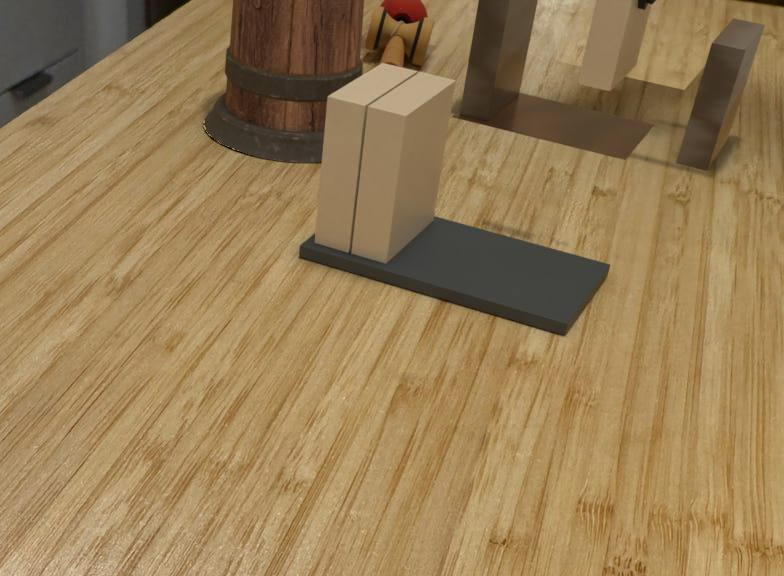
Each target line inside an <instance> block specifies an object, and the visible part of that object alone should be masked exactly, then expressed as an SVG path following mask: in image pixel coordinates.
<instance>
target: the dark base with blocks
mask: <svg viewBox="0 0 784 576" xmlns="http://www.w3.org/2000/svg"><path fill="white" fill-rule="evenodd" d="M456 82H457V81H456V79H452V78H448V77H445V76H444V77H443V76H439V75H436V74H431V73H426V72H422V71H419V72H418V71H417V70H414V69H410V68H405V67H403V68H402V67H398V66H393V65H389V64H385V63H382V64H380V65H379V64H378V65H377V66H375V67H373V68H372V69H370V70H369V71H367V72H365V73H364V74H363V73H362V76H360V77H359V78H357V79H355V80H354V81H352V82H350V83H349V84H347V85H345V86H344V87H342V88H340V89H339V90H337V91H335V92H334V93H332V94H331V95H329V96H328V97H327V109H326V120H325V131H324V142H323V153H322V162H321V164H320V165H321V166H320V177H319V186H318V188H319V189H318V200H317V212H316V221H315V232H314V233H313V234H312V235H311V236H310V237H308V238H307V239H306V240H305V241H303V242H302V243H301V244H299V250H298V251H299V252H298V257H299V258H301V259H303V260H309V261H312V262H314V263H318V264H322V265H325V266H328V267H332V268H335V269H338V270H342V271H345V272H348V273H352V274H356V275H358V276H362V277H365V278H369V279H371V280H375V281H379V282H382V283H386V284H389V285H392V286H396V287H400V288H403V289H406V290H409V291H413V292H416V293H419V294H423V295H426V296H430V297H433V298H436V299H440V300H444V301H447V302H450V303H453V304H457V305H460V306H464V307H466V308H471V309H473V310H477V311H481V312H484V313H487V314H491V315H494V316H497V317H500V318H503V319H507V320H511V321H513V322H517V323H520V324H525V325H528V326H531V327H535V328H538V329H541V330H544V331H547V332H551V333H554V334H558V335H561V336H566V335H567V333H568V332H569V330H570V329H571V328H572V326H573V325H574V324H575V322H576V321H577V319H578V318H579V316H580V315H581V313H582V312H583V311H584V309H585V308H586V306H587V305H588V304H589V302H590V301H591V300H592V298H593V297H594V295H595V294H596V293H597V291H598V290H599V288H600V287H601V286H602V284H603V283H604V282H605V280H606V278H608V276H609V272H610V268H611V264H610V263H606V262H603V261H599V260H595V259H592V258H588V257H585V256H582V255H577V254H574V253H570V252H566V251H563V250H559V249H556V248H551V247H548V246H545V245H540V244H537V243H533V242H530V241H526V240H523V239H519V238H515V237H512V236H508V235H504V234H500V233H497V232H494V231H490V230H487V229H482V228H479V227H475V226H472V225H468V224H464V223H462V222H461V223H460V222H458V221H454V220H451V219H447V218H443V217H439V216H436V215H435V213H436V206H437V200H438V194H439V188H440V181H441V175H442V171H443V170H442V168H443V163H444V157H445V151H446V144H447V137H448V132H449V125H450V120H451V114H452V108H453V107H452V106H453V101H454V95H455V89H456Z"/></svg>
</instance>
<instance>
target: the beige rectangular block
mask: <svg viewBox="0 0 784 576" xmlns="http://www.w3.org/2000/svg"><path fill="white" fill-rule="evenodd" d="M652 5H653V4H648V5H647V7H646V9H645V10H643V9H638V0H595V4H594V9H593V14H592V18H591V23H590V27H589V31H588V35H587V39H586V45H585V49H584V53H583V58H582V62H581V67H580V71H579V75H578V78H577V79H578V80H577V85H581V86H585V87H589V88H593V89H598V90H602V91H606V92H611V91H612V90H613V89H615V87H616V86H617V85H618V84H619V83H620V82H621V81H622V80H623V79H624V78H626V76H627V75H628V74H629V73H630V72H631V71H632V70H634V68H635V67H636V66H637V64H638V59H639V56H640V53H641V52H640V51H641V47H642V45H643V41H644V36H645V33H646V32H645V31H646V28H647V26H648V25H647V24H648V20H649V16H650V13H651V9H652Z"/></svg>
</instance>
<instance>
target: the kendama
mask: <svg viewBox="0 0 784 576" xmlns="http://www.w3.org/2000/svg"><path fill="white" fill-rule="evenodd" d="M434 26H435V20H434V19H432V18H430V17H429V16H428V12H427V8H426V5H425V4H424V3H423V1H422V0H383V1H382V2H381V3H380V5H376V6H375V7H374V9H373V13H372V15H371V19H370V23H369V27H368V31H367V35H366V39H365V43H364V47H365V49H367V50H369V51H373V52H374V51H375V50H377V49H379V48H383V47H385V48H384V51H383V53H382V56H381V58H380V61H379V63H378V65H380V64H382V63H385V64H389V65H393V66H398V67H402V68H404V63H405V54H406V56H407V57H408V58H409V61H410V62H411V64H412V65H415V66H419V67H422V66H423V64H424V62H425V59H426V55H427V51H428V47H429V44H430V40H431V36H432V34H433V29H434Z"/></svg>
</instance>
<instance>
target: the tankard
mask: <svg viewBox="0 0 784 576" xmlns="http://www.w3.org/2000/svg"><path fill="white" fill-rule="evenodd" d="M364 8H365V0H232V11H231V24H230V37H229V38H230V39H229V46H228V47H227V49H226V51H225V61H224V62H225V64H224V65H225V66H224V74H225V76H226V87H225V92H224V93H222V94H221V95H220V96H219V97H218V98H217V99H216V101H215V102H214V104H213V107H212V109H211V111H209V112H208V113H209V114H208V113H207V114H208V115H207V114H206V115H207V116H206V115H205V116H206V118H205V117H204V118H205V123H204V125H205V127H206V131H207V132H208V134H210V135H211V136H212V138H214V139H215V140H216V141H217V142H216V141H215V142H216V143H218V141H219V142H220V143H221V144H224V145H226V146H229V147H230V148H234V149H235V150H239V151H240V152H243V153H242V154H244V153H245V154H244V155H247V154H248V155H247V156H251V155H253V156H252V157H254V158H255V157H256V158H259V159H264V160H270V161H276V162H277V161H278V162H287V163H288V162H289V163H300V164H301V163H302V164H305V163H306V164H307V163H314V164H315V163H317V164H318V163H322V153H323V142H324V131H325V120H326V109H327V97H328V96H329V95H331V94H332V93H334V92H335V91H337V90H339V89H340V88H342V87H344V86H345V85H347V84H349V83H350V82H352V81H354V80H355V79H357V78H359V77H360V76H362V75H363V71H364V70H363V69H364V63H363V60H362V59H361V52H362V37H363V23H364ZM221 144H220V145H221ZM240 152H239V153H240Z"/></svg>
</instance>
